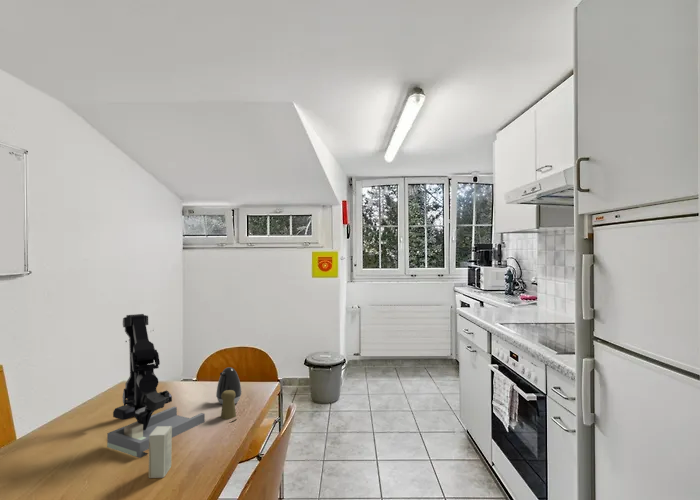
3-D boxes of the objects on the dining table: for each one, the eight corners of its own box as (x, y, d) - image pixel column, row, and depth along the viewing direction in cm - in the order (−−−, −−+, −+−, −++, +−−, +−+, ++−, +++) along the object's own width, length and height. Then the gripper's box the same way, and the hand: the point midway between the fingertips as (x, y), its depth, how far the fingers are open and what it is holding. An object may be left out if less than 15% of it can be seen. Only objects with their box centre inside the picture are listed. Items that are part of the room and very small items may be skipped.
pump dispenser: (210, 406, 167) (210, 369, 167) (227, 398, 177) (227, 363, 177) (230, 409, 163) (230, 372, 163) (246, 401, 173) (246, 365, 173)
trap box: (107, 447, 131) (107, 433, 131) (173, 418, 155) (173, 406, 155) (139, 457, 124) (140, 443, 124) (204, 425, 148) (204, 413, 148)
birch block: (124, 438, 134) (124, 426, 134) (135, 433, 138) (135, 422, 138) (132, 441, 132) (132, 428, 132) (143, 436, 136) (143, 424, 136)
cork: (231, 423, 149) (231, 394, 150) (217, 422, 151) (217, 393, 151) (239, 417, 155) (239, 388, 155) (225, 416, 157) (225, 387, 157)
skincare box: (156, 467, 119) (156, 425, 119) (172, 466, 119) (172, 425, 119) (147, 479, 112) (148, 435, 113) (164, 478, 113) (164, 434, 113)
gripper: (134, 396, 127) (134, 446, 126) (182, 379, 143) (182, 423, 143) (112, 391, 131) (112, 439, 131) (161, 375, 148) (161, 418, 148)
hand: (144, 429), depth 138 cm, fingers closed
